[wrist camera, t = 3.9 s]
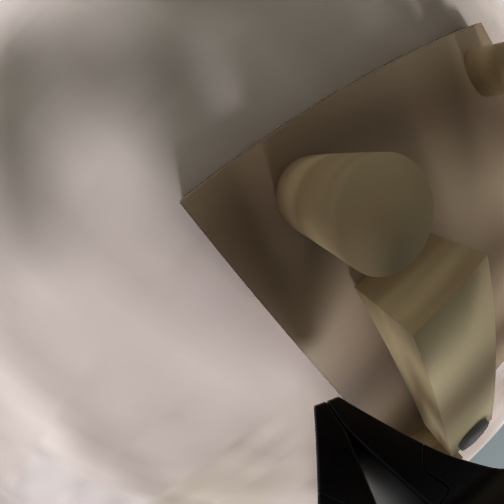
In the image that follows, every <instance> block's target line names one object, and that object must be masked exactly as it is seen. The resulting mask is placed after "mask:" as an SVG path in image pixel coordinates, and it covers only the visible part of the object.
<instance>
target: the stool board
mask: <svg viewBox="0 0 504 504" xmlns="http://www.w3.org/2000/svg"><path fill="white" fill-rule="evenodd" d="M180 204H181V205H182V206H183V207H184V209H185V210H186V211H187V212H188V214H189V215H190V216H191V217H192V219H193V220H194V221H195V222H196V224H197V225H198V226H199V227H200V229H201V230H202V231H203V232H204V234H205V235H206V236H207V237H208V239H209V240H210V241H211V242H212V244H213V245H214V246H215V247H216V249H217V250H218V251H219V252H220V253H221V255H222V256H223V257H224V258H225V260H226V261H227V262H228V263H229V264H230V266H231V267H232V268H233V269H234V271H235V272H236V273H237V274H238V275H239V277H240V278H241V279H242V280H243V282H244V283H245V284H246V285H247V286H248V288H249V289H250V290H251V291H252V292H253V294H254V295H255V296H256V297H257V298H258V300H259V301H260V302H261V303H262V304H263V306H264V307H265V308H266V309H267V310H268V312H269V313H270V314H271V315H272V316H273V317H274V319H275V320H276V321H277V322H278V323H279V325H280V326H281V327H282V328H283V329H284V330H285V332H286V333H287V334H288V335H289V336H290V338H291V339H292V340H293V341H294V342H295V343H296V345H297V346H298V347H299V348H300V349H301V350H302V352H303V353H304V354H305V355H306V356H307V357H308V358H309V360H310V361H311V362H312V363H313V364H314V365H315V367H316V368H317V369H318V370H319V371H320V372H321V373H322V375H323V376H324V377H325V378H326V379H327V380H328V381H329V383H330V384H331V385H332V386H333V387H334V388H335V389H336V391H337V392H338V393H339V394H340V395H341V396H342V397H343V398H344V400H345V401H347V402H349V403H350V404H352V405H354V406H355V407H357V408H359V409H360V410H362V411H364V412H366V413H367V414H369V415H371V416H373V417H374V418H376V419H378V420H380V421H382V422H383V423H385V424H387V425H389V426H391V427H393V428H394V429H396V430H398V431H400V432H402V433H404V434H406V435H408V436H410V437H411V438H413V439H415V440H417V441H419V442H421V443H423V445H424V444H425V445H427V446H429V447H431V448H433V449H436V450H438V451H440V452H442V453H445V454H447V455H450V454H449V453H448V452H447V451H446V450H445V448H444V447H443V446H442V445H441V444H440V442H439V441H438V440H437V439H436V438H435V436H434V435H433V434H432V433H431V432H430V430H429V429H428V428H427V427H426V426H425V424H424V422H423V419H422V417H421V415H420V413H419V411H418V408H417V406H416V404H415V402H414V400H413V398H412V396H411V394H410V391H409V389H408V387H407V385H406V383H405V381H404V379H403V377H402V375H401V373H400V371H399V369H398V367H397V365H396V363H395V361H394V359H393V357H392V355H391V353H390V351H389V350H388V348H387V346H386V344H385V342H384V340H383V338H382V336H381V334H380V333H379V331H378V329H377V327H376V325H375V323H374V322H373V320H372V318H371V316H370V314H369V313H368V311H367V309H366V307H365V305H364V304H363V302H362V300H361V298H360V297H359V295H358V293H357V291H356V290H355V288H354V286H356V285H357V284H358V283H359V282H360V281H362V280H363V279H364V278H365V277H366V276H371V277H387V276H391V275H394V274H396V273H399V272H401V271H402V270H404V269H405V268H407V267H408V266H409V265H410V264H411V263H412V262H413V261H414V260H415V259H416V258H417V257H418V255H419V254H420V253H421V251H422V250H423V248H424V246H425V244H426V242H427V240H428V237H429V235H430V233H432V234H435V235H438V236H440V237H443V238H446V239H449V240H451V241H454V242H457V243H459V244H462V245H464V246H467V247H470V248H472V249H475V250H477V251H480V252H482V253H485V254H487V255H488V261H489V267H490V274H491V281H492V289H493V299H494V311H495V328H496V369H497V368H498V367H499V366H500V365H501V363H502V362H503V361H504V42H502V43H497V44H492V42H491V40H490V38H489V36H488V34H487V33H486V31H485V29H484V27H483V25H482V24H481V23H478V24H475V25H471V26H468V27H465V28H463V29H460V30H458V31H455V32H453V33H451V34H448V35H446V36H444V37H441V38H439V39H437V40H435V41H432V42H430V43H428V44H426V45H424V46H422V47H419V48H417V49H415V50H413V51H411V52H409V53H407V54H405V55H403V56H401V57H399V58H397V59H395V60H393V61H391V62H389V63H387V64H385V65H383V66H381V67H380V68H378V69H376V70H374V71H372V72H370V73H368V74H367V75H365V76H363V77H361V78H359V79H358V80H356V81H354V82H352V83H351V84H349V85H347V86H345V87H344V88H342V89H340V90H338V91H337V92H335V93H333V94H332V95H330V96H328V97H327V98H325V99H323V100H322V101H320V102H318V103H317V104H315V105H314V106H312V107H310V108H309V109H307V110H306V111H304V112H302V113H301V114H299V115H298V116H296V117H295V118H293V119H291V120H290V121H288V122H287V123H285V124H284V125H282V126H281V127H279V128H278V129H276V130H275V131H273V132H272V133H270V134H269V135H267V136H266V137H264V138H263V139H261V140H260V141H259V142H257V143H256V144H254V145H253V146H251V147H250V148H248V149H247V150H246V151H244V152H243V153H241V154H240V155H239V156H237V157H236V158H234V159H233V160H232V161H230V162H229V163H228V164H226V165H225V166H224V167H222V168H221V169H219V170H218V171H217V172H215V173H214V174H213V175H211V176H210V177H209V178H207V179H206V180H205V181H204V182H202V183H201V184H200V185H198V186H197V187H196V188H194V189H193V190H192V191H191V192H189V193H188V194H187V195H186V196H184V197H183V198H182V199H181V202H180ZM453 457H456V458H459V459H462V458H463V457H462V456H461V455H460V454H459V453H458V452H457V453H456V454H455V455H454V456H453Z"/></svg>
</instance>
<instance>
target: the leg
mask: <svg viewBox="0 0 504 504" xmlns="http://www.w3.org/2000/svg"><path fill="white" fill-rule="evenodd" d="M354 288H355V290H356V291H357V293H358V295H359V297H360V298H361V300H362V302H363V304H364V305H365V307H366V309H367V311H368V313H369V314H370V316H371V318H372V320H373V322H374V323H375V325H376V327H377V329H378V331H379V333H380V334H381V336H382V338H383V340H384V342H385V344H386V346H387V348H388V350H389V351H390V353H391V355H392V357H393V359H394V361H395V363H396V365H397V367H398V369H399V371H400V373H401V375H402V377H403V379H404V381H405V383H406V385H407V387H408V389H409V391H410V394H411V396H412V398H413V400H414V402H415V404H416V406H417V408H418V411H419V413H420V415H421V417H422V419H423V422H424V424H425V426H426V427H427V428H428V429H429V430H430V432H431V433H432V434H433V435H434V436H435V438H436V439H437V440H438V441H439V442H440V444H441V445H442V446H443V447H444V448H445V450H446V451H447V452H448V453H449V454H450V456H454V455H455V454H456V453H457V452H458V451H459V450H460V449H461V450H462V451H463V450H465V449H467V448H468V447H469V446H471V445H472V444H473V443H474V442H475V441H476V440H477V439H478V438H479V437H480V436H481V435H482V434H483V432H484V431H485V430H486V428H487V426H488V424H489V421H490V420H491V419H492V411H493V402H494V390H495V374H496V328H495V311H494V299H493V289H492V281H491V274H490V267H489V261H488V255H487V254H485V253H482V252H480V251H477V250H475V249H472V248H470V247H467V246H464V245H462V244H459V243H457V242H454V241H451V240H449V239H446V238H443V237H440V236H438V235H435V234H432V233H430V235H429V237H428V240H427V242H426V244H425V246H424V248H423V250H422V251H421V253H420V254H419V255H418V257H417V258H416V259H415V260H414V261H413V262H412V263H411V264H410V265H409V266H408V267H407V268H405V269H404V270H402V271H401V272H399V273H396V274H394V275H391V276H387V277H371V276H366V277H365V278H364V279H363V280H362V281H360V282H359V283H358V284H357V285H356V286H354Z"/></svg>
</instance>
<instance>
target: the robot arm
mask: <svg viewBox="0 0 504 504" xmlns="http://www.w3.org/2000/svg"><path fill="white" fill-rule="evenodd" d="M314 416H315V433H316V454H317V482H318V504H504V469H497V468H491V467H487V466H483V465H479V464H476V463H472V462H469V461H465V460H462V459H459V458H456V457H453V456H450V455H447V454H445V453H442V452H440V451H438V450H436V449H433V448H431V447H429V446H427V445H425V444H424V445H423V443H421V442H419V441H417V440H415V439H413V438H411V437H410V436H408V435H406V434H404V433H402V432H400V431H398V430H396V429H394V428H393V427H391V426H389V425H387V424H385V423H383V422H382V421H380V420H378V419H376V418H374V417H373V416H371V415H369V414H367V413H366V412H364V411H362V410H360V409H359V408H357V407H355V406H354V405H352V404H350V403H349V402H347V401H345V400H343V399H342V398H340V397H336V398H334V399H331V400H329V401H327V403H326V402H323V403H321V404H318V405H315V406H314Z"/></svg>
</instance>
